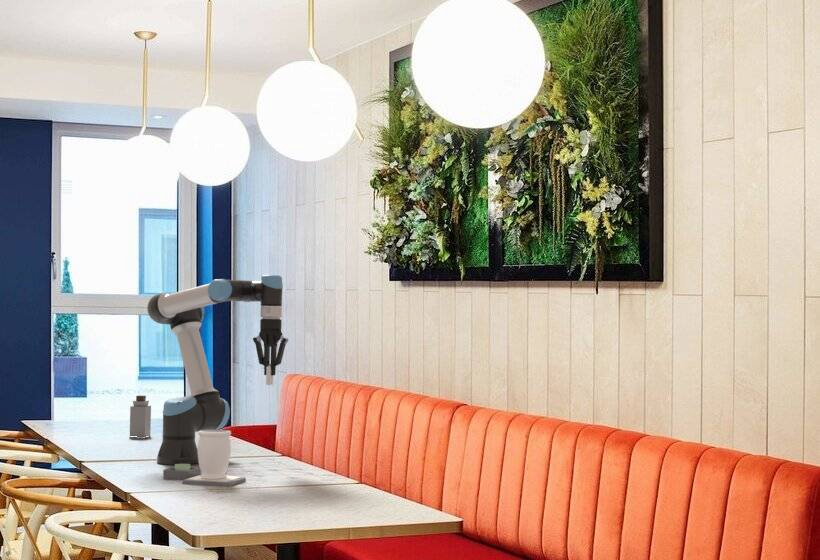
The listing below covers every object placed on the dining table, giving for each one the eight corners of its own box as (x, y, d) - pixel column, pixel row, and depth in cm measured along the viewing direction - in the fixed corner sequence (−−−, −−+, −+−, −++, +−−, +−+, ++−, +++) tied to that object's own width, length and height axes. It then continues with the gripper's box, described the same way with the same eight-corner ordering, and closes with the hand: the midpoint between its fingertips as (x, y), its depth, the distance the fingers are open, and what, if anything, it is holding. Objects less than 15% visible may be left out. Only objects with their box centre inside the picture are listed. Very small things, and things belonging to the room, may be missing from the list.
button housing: (163, 479, 364) (163, 469, 364) (176, 475, 373) (176, 466, 373) (188, 480, 362) (188, 471, 362) (200, 476, 370) (201, 467, 371)
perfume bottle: (135, 436, 488) (136, 395, 488) (150, 436, 487) (151, 395, 487) (129, 437, 481) (130, 396, 482) (144, 438, 480) (145, 396, 481)
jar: (190, 478, 356) (191, 431, 356) (206, 474, 366) (207, 428, 366) (220, 480, 352) (221, 433, 353) (235, 476, 362) (236, 430, 363)
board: (182, 483, 355) (182, 479, 355) (200, 478, 367) (200, 473, 367) (228, 486, 350) (228, 482, 350) (245, 481, 363) (245, 476, 363)
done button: (171, 475, 366) (172, 465, 366) (178, 473, 370) (179, 463, 371) (185, 476, 364) (185, 466, 364) (192, 474, 369) (192, 464, 369)
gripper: (249, 318, 396) (248, 384, 395) (284, 318, 392) (282, 385, 391) (258, 318, 403) (256, 383, 402) (292, 318, 399) (290, 384, 399)
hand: (269, 384), depth 397 cm, fingers closed
